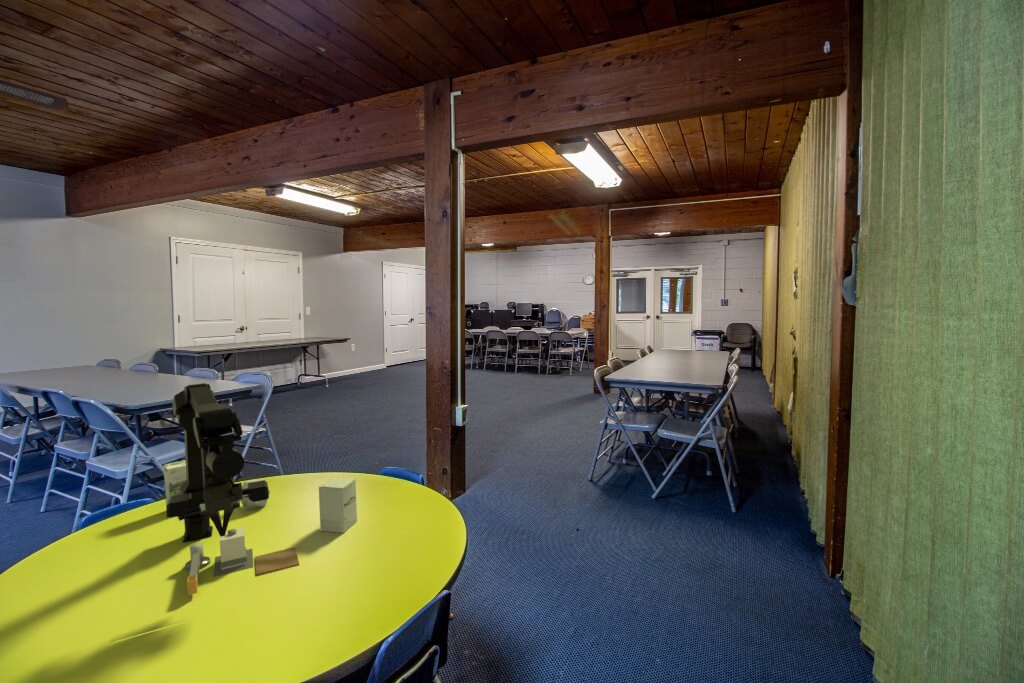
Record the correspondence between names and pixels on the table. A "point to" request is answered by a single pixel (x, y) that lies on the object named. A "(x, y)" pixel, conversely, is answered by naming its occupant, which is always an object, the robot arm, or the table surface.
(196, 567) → the bar
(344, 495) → the supplement box
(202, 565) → the clip base
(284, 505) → the table surface
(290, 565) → the walnut pad
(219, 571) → the socket plate
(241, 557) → the beige tall block
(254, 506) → the die
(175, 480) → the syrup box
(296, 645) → the table surface
